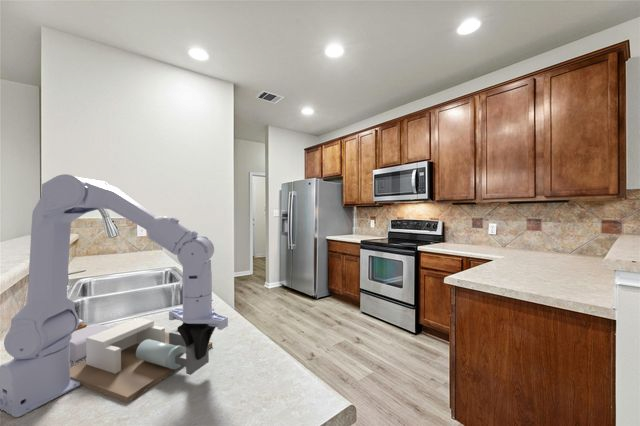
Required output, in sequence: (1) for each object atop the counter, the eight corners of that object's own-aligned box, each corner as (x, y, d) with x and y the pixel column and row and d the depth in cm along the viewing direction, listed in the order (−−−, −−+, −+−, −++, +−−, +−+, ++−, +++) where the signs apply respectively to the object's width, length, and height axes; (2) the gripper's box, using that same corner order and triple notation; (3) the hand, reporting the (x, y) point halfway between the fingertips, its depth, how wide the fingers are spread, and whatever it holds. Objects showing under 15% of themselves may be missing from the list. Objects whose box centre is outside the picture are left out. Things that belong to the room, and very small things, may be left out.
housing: (135, 380, 55) (135, 350, 55) (86, 364, 61) (86, 337, 61) (199, 342, 71) (199, 319, 71) (155, 332, 77) (155, 311, 77)
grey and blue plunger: (190, 380, 54) (190, 348, 54) (134, 364, 60) (134, 335, 60) (208, 367, 59) (208, 337, 59) (155, 353, 65) (154, 326, 65)
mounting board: (127, 402, 50) (127, 397, 50) (59, 377, 58) (59, 372, 58) (212, 346, 71) (212, 342, 71) (153, 333, 78) (153, 329, 78)
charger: (137, 335, 78) (76, 363, 63) (115, 330, 81) (52, 356, 66) (137, 319, 78) (75, 343, 63) (115, 315, 81) (52, 337, 66)
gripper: (237, 291, 58) (237, 353, 58) (187, 285, 63) (187, 341, 63) (213, 302, 51) (214, 371, 51) (160, 294, 56) (160, 357, 56)
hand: (197, 356), depth 57 cm, fingers closed on grey and blue plunger
